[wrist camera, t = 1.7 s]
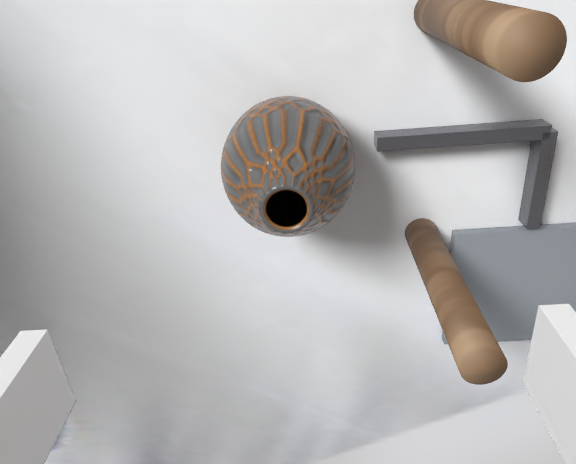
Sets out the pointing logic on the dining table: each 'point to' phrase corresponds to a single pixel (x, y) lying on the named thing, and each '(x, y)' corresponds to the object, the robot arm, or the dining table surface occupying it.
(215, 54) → the dining table surface
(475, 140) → the grey l-shaped bracket
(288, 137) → the vase
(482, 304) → the pad
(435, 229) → the posts
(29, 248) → the dining table surface
